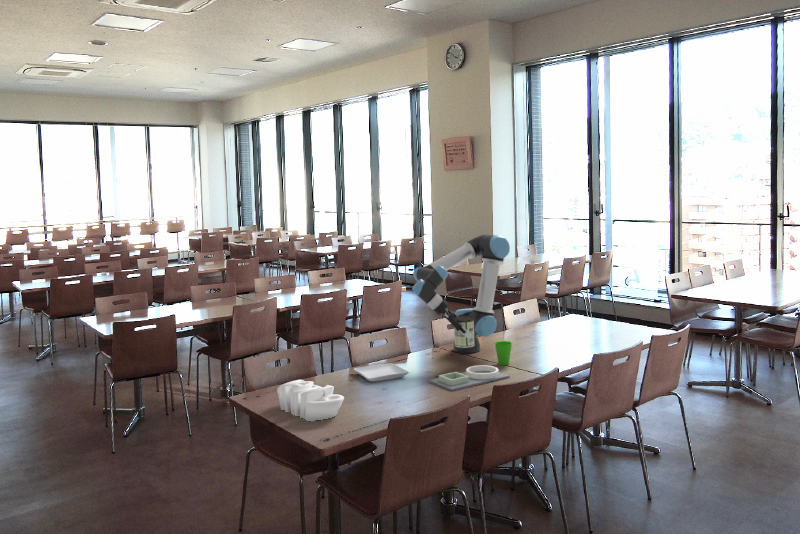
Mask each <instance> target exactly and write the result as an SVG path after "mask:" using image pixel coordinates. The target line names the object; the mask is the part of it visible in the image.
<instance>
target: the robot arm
mask: <svg viewBox="0 0 800 534" xmlns="http://www.w3.org/2000/svg"><path fill="white" fill-rule="evenodd" d="M510 249H511V247H510V242H509V241H508V240H507V238H506V237H505V236H502V235H497V234H496V235H495V234H480V235H477V236H476V237H473V238H471V239H469V240H467V241H466V242H464V243H463V245H462V246H461V247H458V248H456V249H455V250H453V251H451V252H449V253H447V254H446V255H444V256H442V257H440V258H438V259H436V260H435V261H432V262H431V263H429V264H427V265H425V266H423V267H422V266H421V267H420V266H419V267H416V268H415V269H414V270H413V273H412V274H413V275H412V276H413V279H414V280H415V281H416V283H415V284H414V285H412V289H411V290H412V291H413V293H414V294H415V295H416V296H417V297H418V298H420V299H421V300H422V301H423V302H424V303H425V304H426V305H427V307H428V308H431V310H433V311H434V313H436V314H437V315H438V316H439V315H441V314H443V318H445V319H446V320H447V321H448V322H449V323H450V325H452V326H453V328H454V327H455V328H456V329H457V331H458V330H459V331H460V332H461V333H462V334H463V335H464V336H465V337H467V338H468V339H469V338H470V337H471V336H472V334H471V333H469V332H468V331H467V330H466V329H465V328H464V327H463V326H461V325H460V324H459V322H458V321H457V320H456V319H455V317H460V316H471V317H474V336H475V346H473V347H469V348H460V347H456V346H455V340H454V343H453V346H452V351H454V352H456V353H461V354H469V353H470V354H471V353H472V354H473V353H478V352H480V351H481V344H480V341H479V338H478V337H483V338H487V337H490V336H491V335H492V334H494V333H495V331H496V330H497V327H498V326H497V325H498V323H497V319H496V318H495V311H494V310H493V307H494V300H495V295H496V288H497V282H498V276H499V273H500V272H499V271H500V266H501V264H503V263H504V259H505V258H506V257H507V256H508V255H509V253H510V251H511V250H510ZM477 257H481V260H482V261H483V264H482V271H481V277H480V283H479V288H478V295H477V300H476V306H474V307H471V308H469V307H468V308H460V309H457V310H456V311H455V312H454V311H453V310H451V309H450V308H449V307H448V306H449V303H448V302H447V301H446V300H445V299H443V297H442V296H441V295H440V294H439V293H437V292H436V291H437V289H438V287H439V286H440V285H441V284H443V282H444V281H445V280H446V278H447V277H448V276H449V273H448V270H450V269H453V268H454V267H456V266H458V265H460V264H462V263H464V262H465V261H467V260H469V259H471V260H473V259H474V258H477Z"/></svg>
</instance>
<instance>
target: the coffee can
mask: <svg viewBox="0 0 800 534" xmlns="http://www.w3.org/2000/svg"><path fill="white" fill-rule="evenodd" d="M455 319H456V320H457V321H458V322H459V324H460V325H461V326H463V327H464V328H465V329H466V330H467V331H468V332H469V333H471V334H472V336H471V337H470V338H469V339H468V338H467V337H465V336H464V335H463V334H462V333H461V332H460V331H459V330H458V331H457V329H456V328H455V327H454V326H453V331H454V341H455V346H456V347H460V348H469V347H473V346H475V336H474V317H471V316H460V317H455Z"/></svg>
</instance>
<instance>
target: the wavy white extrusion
mask: <svg viewBox="0 0 800 534" xmlns="http://www.w3.org/2000/svg"><path fill="white" fill-rule="evenodd" d="M314 383H315V382H314V381H312V380H311V381H309V380H307V381H305V380H303V379H296V380H292V381H288V382H286V383H283V384H281V385H279V386H278V387H277V388H276V392H277V397H278V401H279V406H280V411H281V410H285V411H284V412H285V413H286V412H289V411H291V412H289V413H290V414H293V415H292V416H294V415H295V416H299V415H300V416H299V418H300V419H301V418H304V419H305V420H307V421H306V422H308V421H311V422H316V421H315V420H321V421H324V420H323V419H327V420H329V419H328V418H331V419H333V418H332V417H334V416H335V417H336V416H337V415H338V412H339V410H340V409H341V406H342V404H343V401H344V400H345V396H343V395H341V394H338V393H337V394H334V390H335V389H334V388H335V386H333V385H330V384H325V385H324V386H323V387H322V386H320V385H317V384H314ZM295 416H294V417H295ZM335 417H334V418H335ZM304 419H303V420H304ZM305 420H304V421H305Z"/></svg>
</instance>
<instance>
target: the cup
mask: <svg viewBox="0 0 800 534" xmlns="http://www.w3.org/2000/svg"><path fill="white" fill-rule="evenodd" d="M494 345H495V350H496V351H495V352H496V357H497V363H498V365H499V364H500V366H508V365H510V364H509V363H510V358H511V352H512V345H513V342H512V341H509V340H497V341H495V342H494Z"/></svg>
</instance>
